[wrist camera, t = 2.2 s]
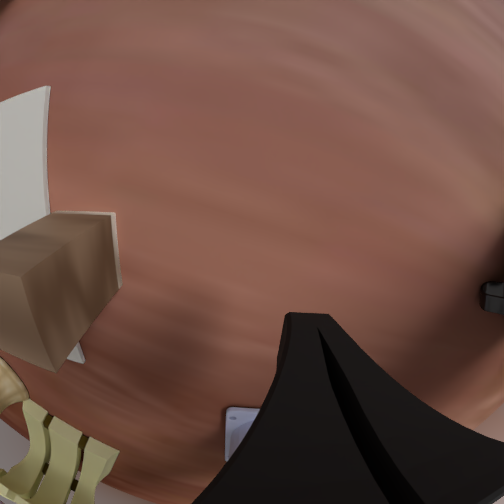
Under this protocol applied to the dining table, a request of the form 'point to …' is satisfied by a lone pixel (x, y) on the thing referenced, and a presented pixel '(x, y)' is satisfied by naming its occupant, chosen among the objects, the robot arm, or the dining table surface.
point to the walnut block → (56, 283)
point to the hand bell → (10, 387)
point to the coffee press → (492, 297)
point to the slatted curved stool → (56, 463)
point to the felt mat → (25, 166)
